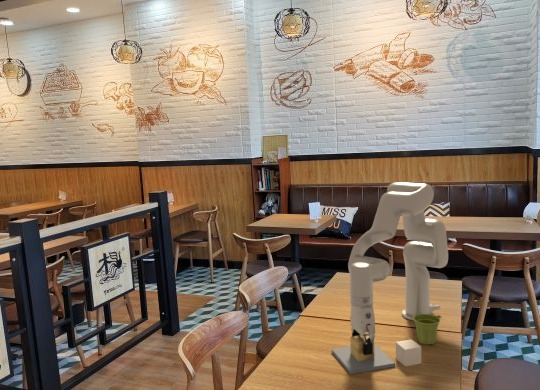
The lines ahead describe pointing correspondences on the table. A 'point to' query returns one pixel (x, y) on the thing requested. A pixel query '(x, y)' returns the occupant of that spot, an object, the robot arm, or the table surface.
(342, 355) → the plate
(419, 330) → the plant pot
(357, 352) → the mustard block
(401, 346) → the cream block
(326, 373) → the table surface
